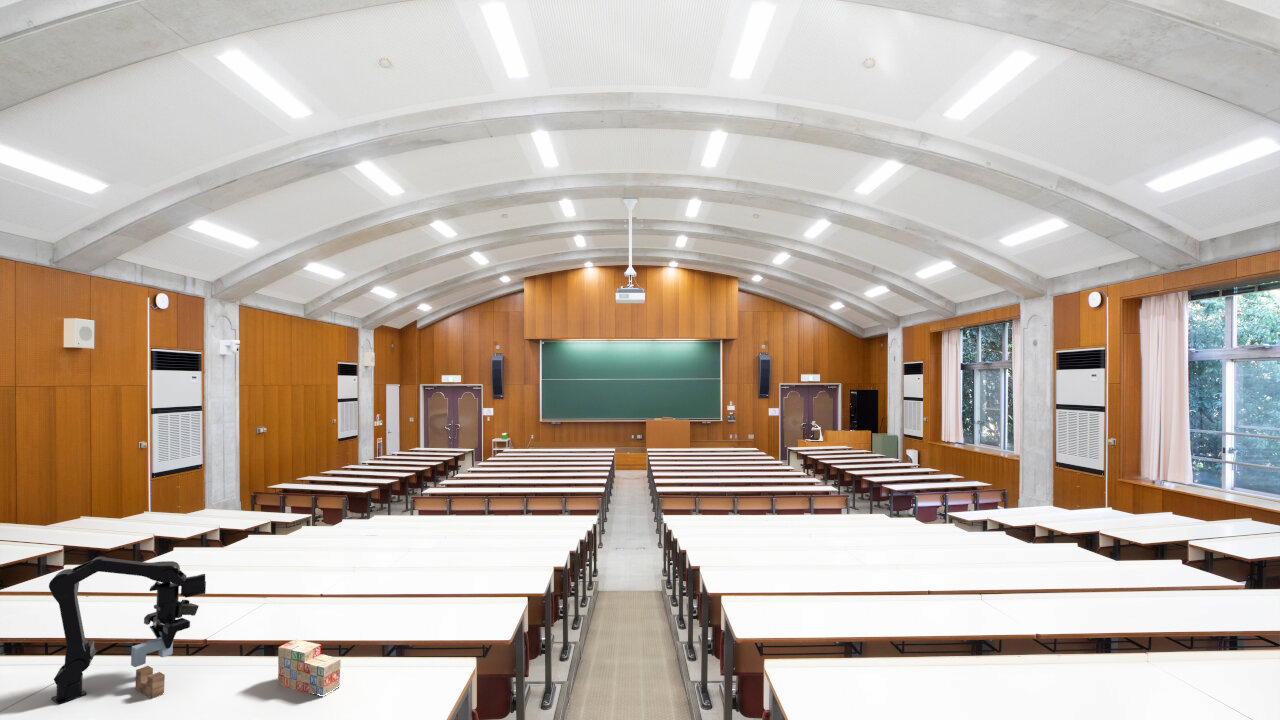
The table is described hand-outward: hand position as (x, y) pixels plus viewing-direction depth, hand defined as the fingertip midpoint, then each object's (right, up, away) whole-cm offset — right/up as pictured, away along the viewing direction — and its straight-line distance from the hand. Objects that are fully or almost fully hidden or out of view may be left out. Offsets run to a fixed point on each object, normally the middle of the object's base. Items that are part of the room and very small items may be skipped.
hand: (165, 647), depth 187 cm
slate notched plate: (-2, -2, -3) cm, 5 cm away
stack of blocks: (+54, -9, -8) cm, 55 cm away
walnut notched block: (+4, -8, -11) cm, 15 cm away
